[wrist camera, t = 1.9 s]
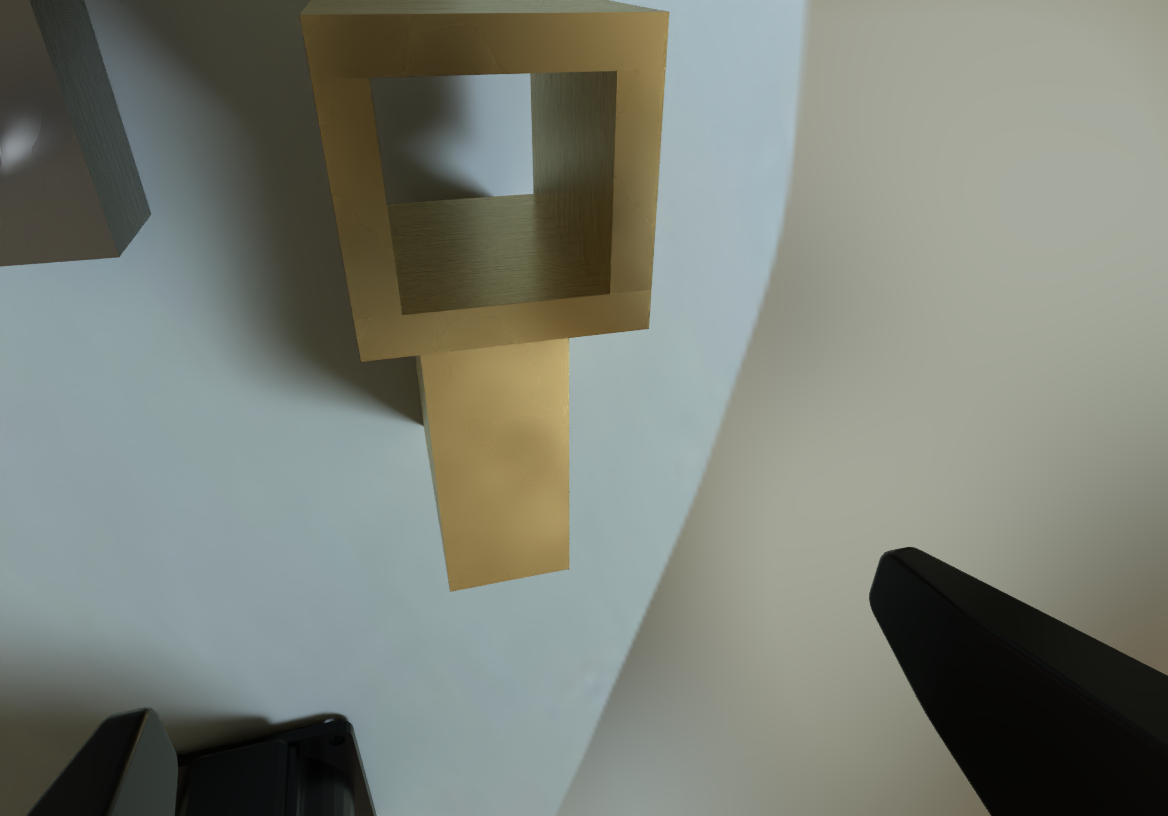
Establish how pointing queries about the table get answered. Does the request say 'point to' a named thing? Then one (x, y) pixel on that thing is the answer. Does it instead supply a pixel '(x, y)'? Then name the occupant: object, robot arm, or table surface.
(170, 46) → the table surface
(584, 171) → the square hoop paddle
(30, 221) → the block with metal peg
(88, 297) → the table surface
